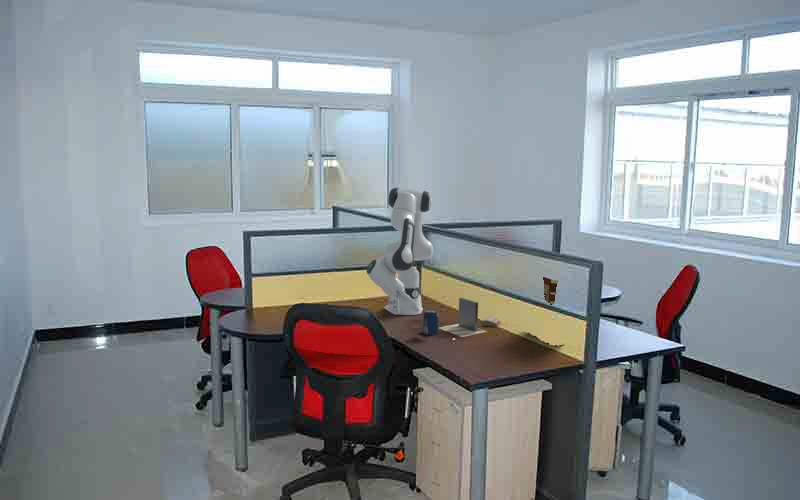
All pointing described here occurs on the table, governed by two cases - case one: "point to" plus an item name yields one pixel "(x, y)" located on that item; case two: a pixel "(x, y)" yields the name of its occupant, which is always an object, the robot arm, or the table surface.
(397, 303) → the robot arm
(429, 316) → the soda can
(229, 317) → the table surface
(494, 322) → the packaged product
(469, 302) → the bookend
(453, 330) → the shelf plank
